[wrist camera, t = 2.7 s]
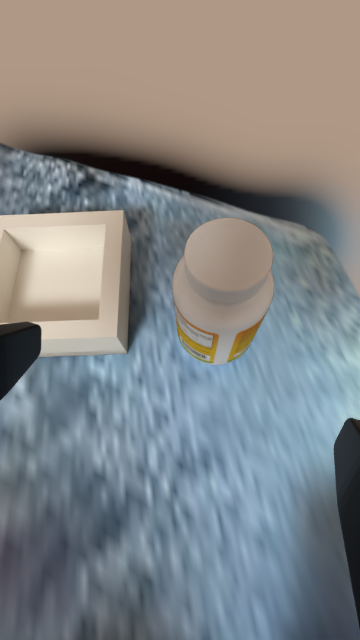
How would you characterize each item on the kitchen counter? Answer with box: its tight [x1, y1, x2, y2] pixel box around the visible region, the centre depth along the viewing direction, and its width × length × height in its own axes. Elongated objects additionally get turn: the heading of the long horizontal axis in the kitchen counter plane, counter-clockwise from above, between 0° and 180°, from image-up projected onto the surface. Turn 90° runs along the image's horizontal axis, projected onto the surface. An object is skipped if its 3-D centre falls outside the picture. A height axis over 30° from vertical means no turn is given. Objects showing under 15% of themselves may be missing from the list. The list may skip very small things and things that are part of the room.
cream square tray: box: [0, 210, 132, 357], centre depth 23 cm, size 10×10×4 cm
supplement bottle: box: [172, 218, 274, 365], centre depth 19 cm, size 5×5×10 cm
